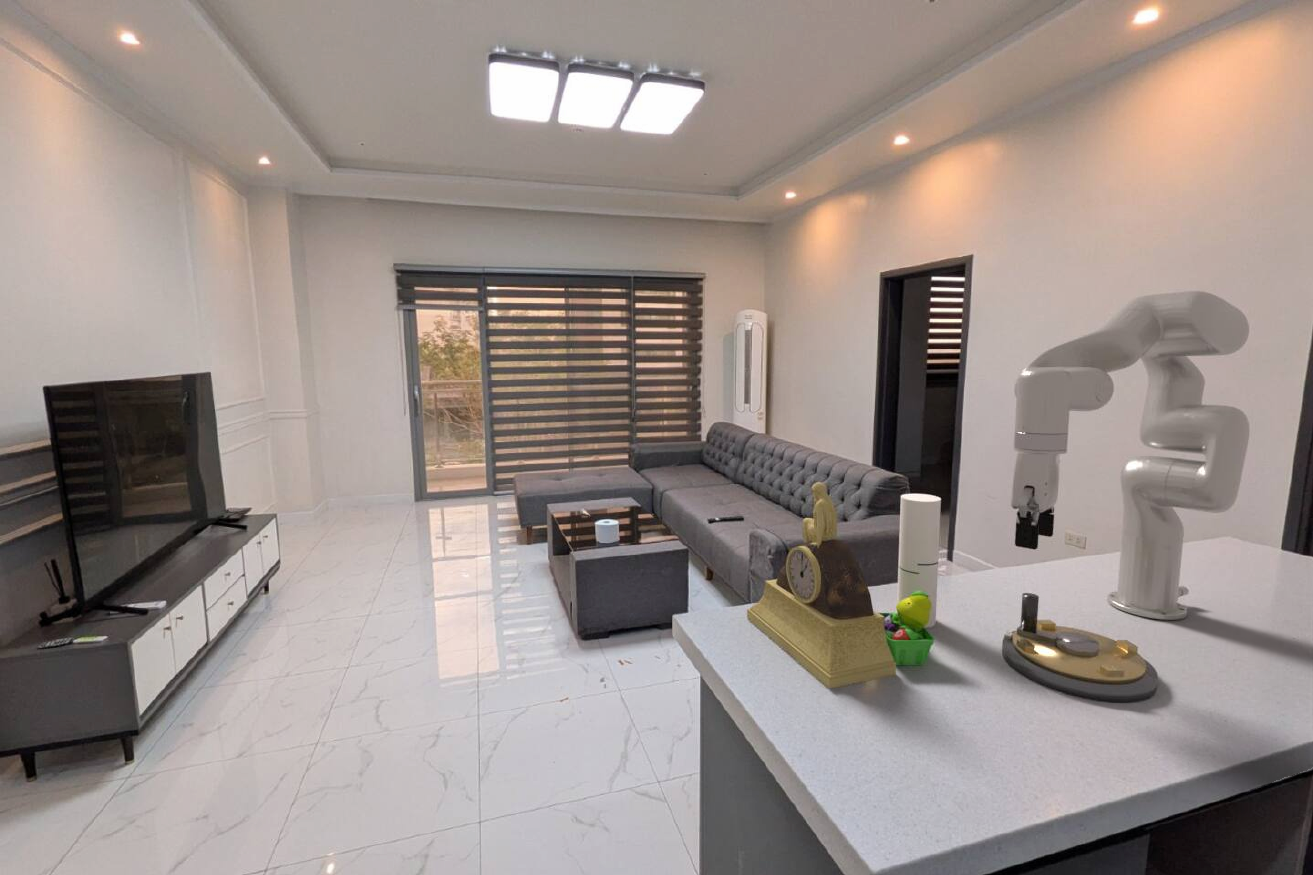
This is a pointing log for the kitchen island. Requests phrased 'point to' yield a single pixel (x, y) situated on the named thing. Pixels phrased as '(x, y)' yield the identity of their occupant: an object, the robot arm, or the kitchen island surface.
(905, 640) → the fruit basket
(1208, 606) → the kitchen island surface
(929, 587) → the cylindrical container
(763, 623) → the decorative clock
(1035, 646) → the gold dial with handle
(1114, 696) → the cap plate
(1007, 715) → the kitchen island surface
